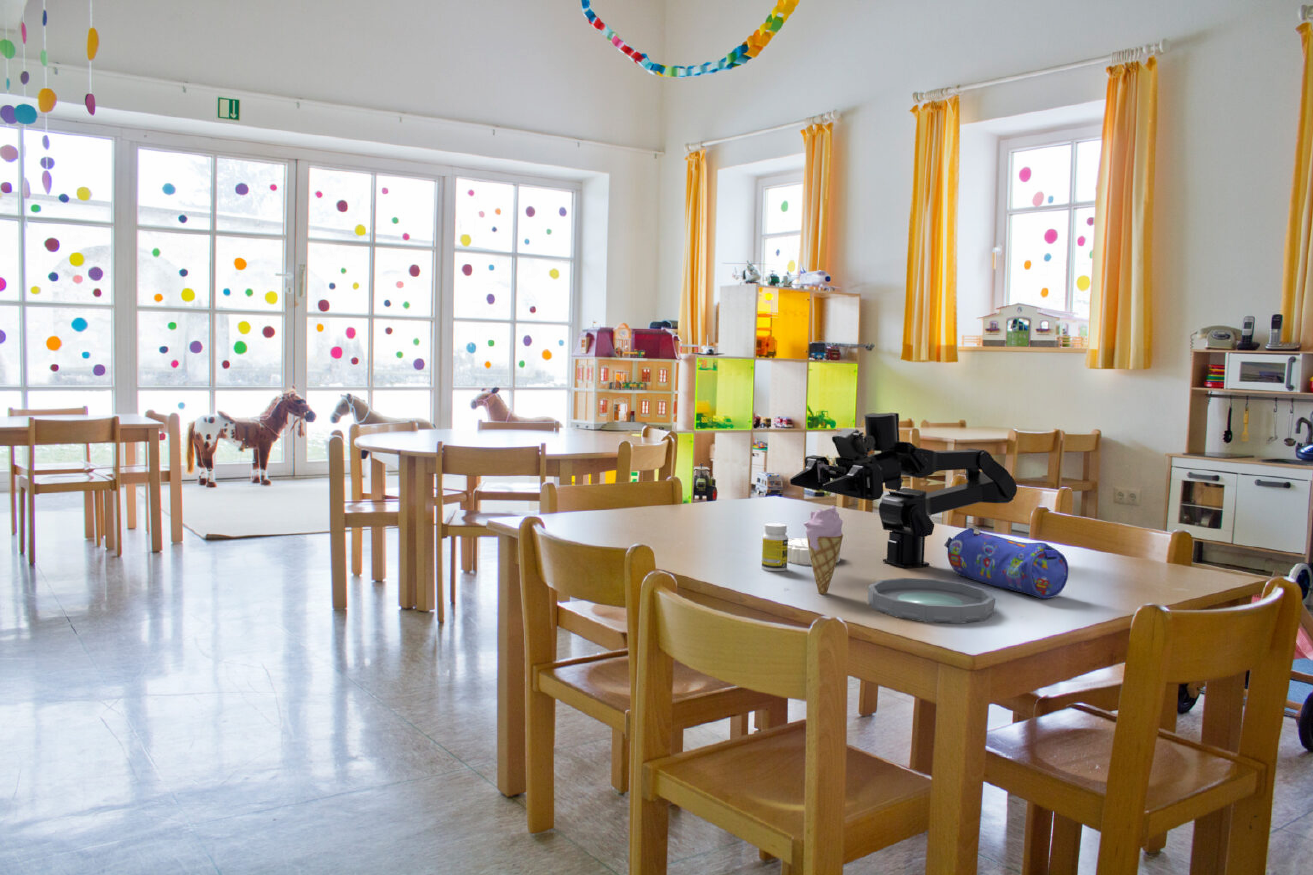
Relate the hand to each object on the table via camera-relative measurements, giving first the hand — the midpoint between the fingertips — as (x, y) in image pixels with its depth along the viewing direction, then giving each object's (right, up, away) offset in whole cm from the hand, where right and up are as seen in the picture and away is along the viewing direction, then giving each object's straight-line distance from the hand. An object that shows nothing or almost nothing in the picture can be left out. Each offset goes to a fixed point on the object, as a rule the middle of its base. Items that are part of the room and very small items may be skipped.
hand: (806, 484), depth 173 cm
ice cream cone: (+1, -18, -12) cm, 21 cm away
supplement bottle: (-5, -16, +7) cm, 18 cm away
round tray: (+17, -19, -19) cm, 32 cm away
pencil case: (+34, -18, -3) cm, 39 cm away
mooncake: (+3, -16, +17) cm, 24 cm away
